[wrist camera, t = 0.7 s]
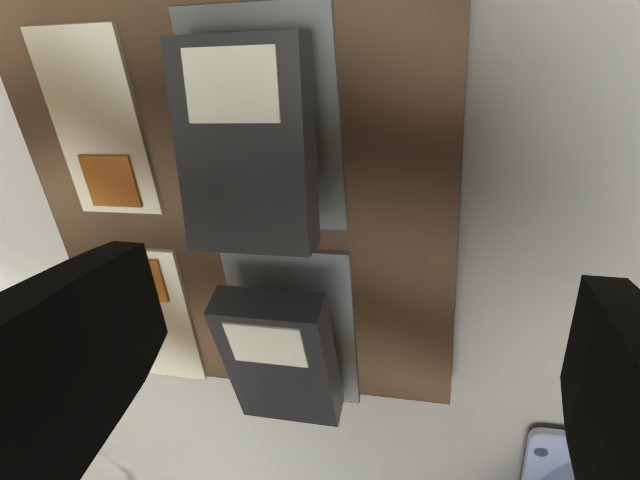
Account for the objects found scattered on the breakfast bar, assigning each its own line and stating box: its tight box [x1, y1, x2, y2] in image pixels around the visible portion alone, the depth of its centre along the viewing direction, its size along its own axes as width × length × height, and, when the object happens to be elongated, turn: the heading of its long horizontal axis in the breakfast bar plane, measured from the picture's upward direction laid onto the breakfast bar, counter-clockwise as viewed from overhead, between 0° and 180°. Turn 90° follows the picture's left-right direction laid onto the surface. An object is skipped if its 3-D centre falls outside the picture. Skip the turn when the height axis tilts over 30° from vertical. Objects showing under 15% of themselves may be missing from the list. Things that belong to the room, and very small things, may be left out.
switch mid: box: [160, 29, 321, 258], centre depth 14 cm, size 6×4×1 cm, turn 5°
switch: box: [203, 285, 344, 427], centre depth 18 cm, size 6×4×1 cm, turn 5°
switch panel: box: [0, 0, 470, 404], centre depth 17 cm, size 22×14×2 cm, turn 5°
